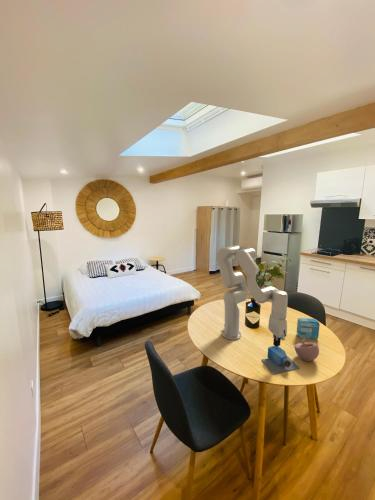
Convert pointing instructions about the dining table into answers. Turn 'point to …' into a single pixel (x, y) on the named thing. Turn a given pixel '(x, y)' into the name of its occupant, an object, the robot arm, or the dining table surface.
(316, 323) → the data package
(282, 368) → the slate mat
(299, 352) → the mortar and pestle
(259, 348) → the dining table surface
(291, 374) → the dining table surface
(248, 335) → the dining table surface
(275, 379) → the dining table surface
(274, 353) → the perfume bottle
